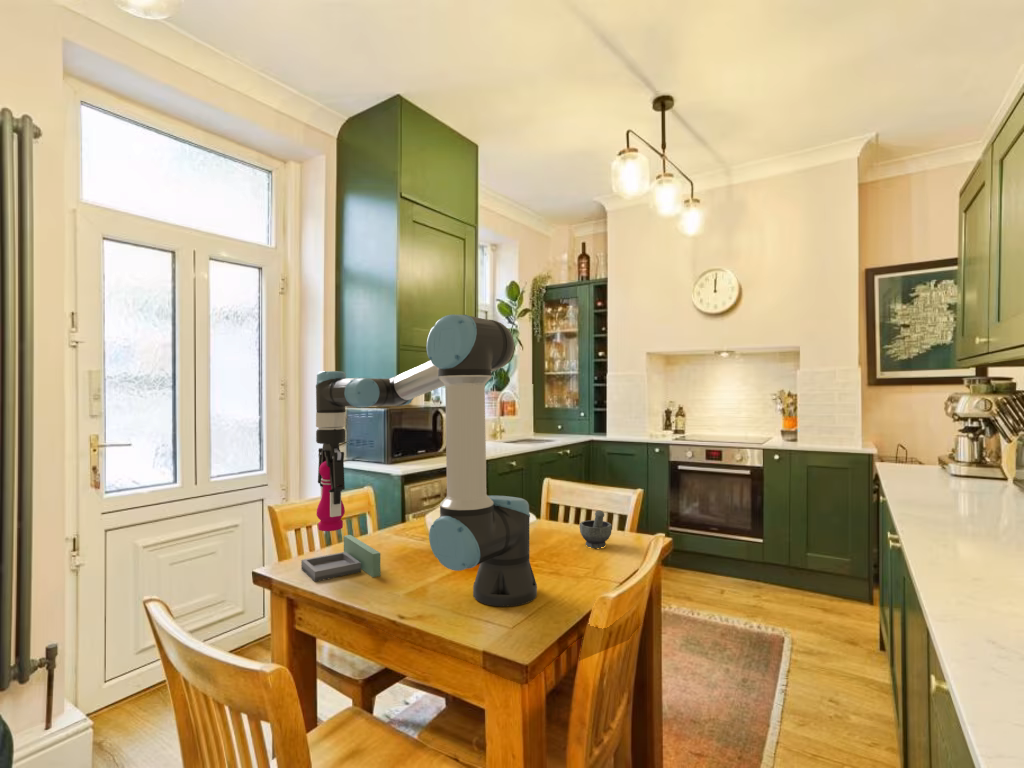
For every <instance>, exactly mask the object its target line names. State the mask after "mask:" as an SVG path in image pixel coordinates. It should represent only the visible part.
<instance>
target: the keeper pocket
mask: <svg viewBox="0 0 1024 768" xmlns="http://www.w3.org/2000/svg"><path fill="white" fill-rule="evenodd" d="M300 561H301V571H302V572H304V573H305V574H306V575H307V576H308V577H309V576H310V577H311V578H312V579H313V580H312V579H311V578H310V577H309V578H310V579H311V580H312V581H313V582H315V581H316V582H320V581H319V580H321V581H324V580H323V579H326V580H329V579H328V578H330V579H334V578H333V577H335V578H339V577H338V576H340V577H343V575H344V576H349V575H353V573H354V574H358V572H359V573H361V572H362V569H361V562H359V561H358V560H356V559H355V558H353V557H352V556H350V555H349V554H348V553H346V552H344V551H342V552H336V553H331V554H326V555H325V554H324V555H321V556H316V557H311V558H305V559H301V560H300ZM348 574H349V575H348Z"/></svg>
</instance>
